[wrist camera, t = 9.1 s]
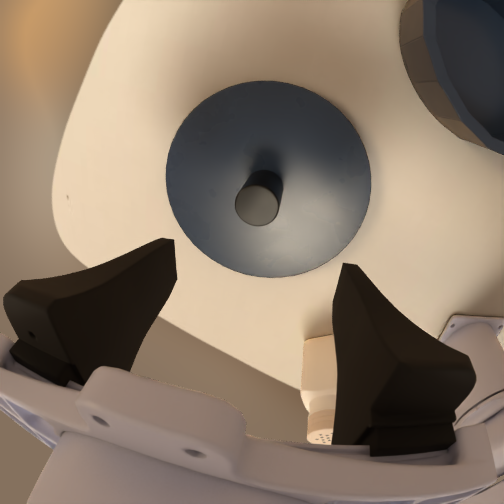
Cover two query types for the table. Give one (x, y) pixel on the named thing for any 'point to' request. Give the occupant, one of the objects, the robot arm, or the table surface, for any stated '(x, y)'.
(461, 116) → the pot
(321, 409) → the salt shaker
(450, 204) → the table surface
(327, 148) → the lid
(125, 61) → the table surface
